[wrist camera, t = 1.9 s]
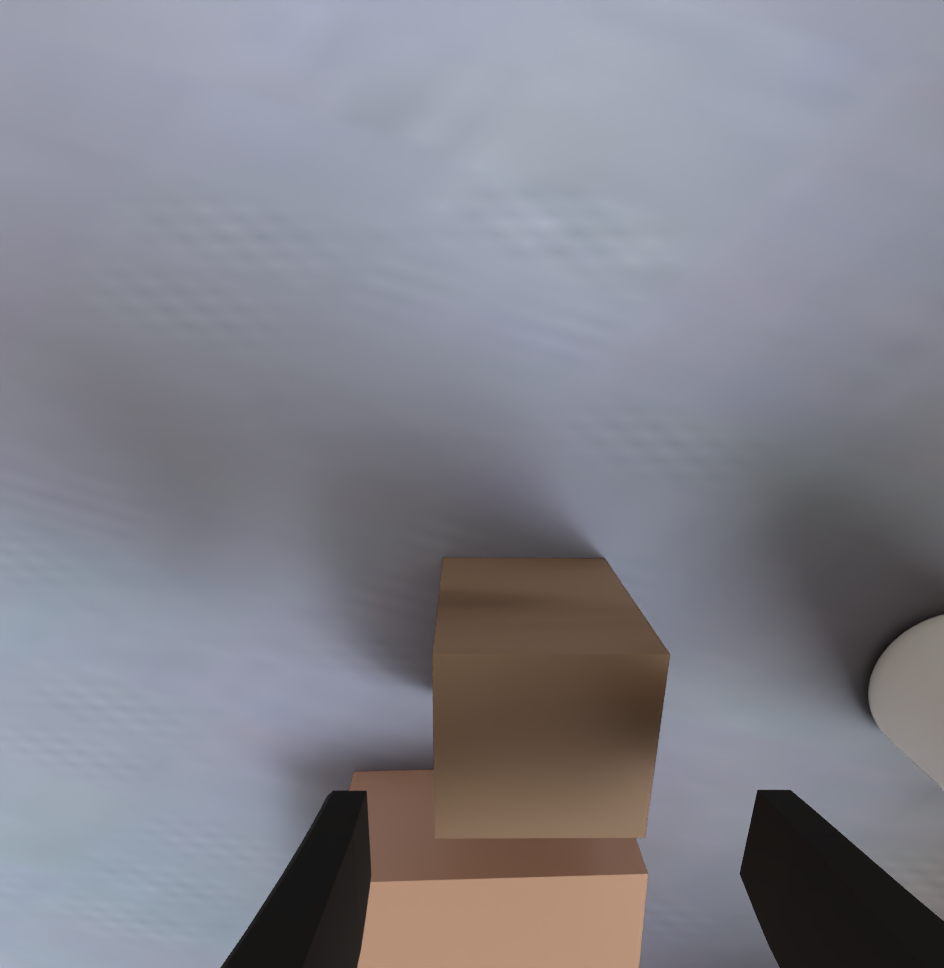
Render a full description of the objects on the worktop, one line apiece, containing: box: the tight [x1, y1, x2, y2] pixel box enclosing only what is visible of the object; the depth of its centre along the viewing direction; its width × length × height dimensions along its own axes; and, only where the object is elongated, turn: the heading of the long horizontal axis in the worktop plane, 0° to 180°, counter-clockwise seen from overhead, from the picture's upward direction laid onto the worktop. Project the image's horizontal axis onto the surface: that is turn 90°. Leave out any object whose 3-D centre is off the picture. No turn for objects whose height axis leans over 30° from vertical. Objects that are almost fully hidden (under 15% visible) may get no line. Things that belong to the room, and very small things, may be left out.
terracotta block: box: [349, 770, 648, 968], centre depth 16 cm, size 9×9×4 cm
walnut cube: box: [432, 557, 670, 839], centre depth 13 cm, size 5×5×5 cm
